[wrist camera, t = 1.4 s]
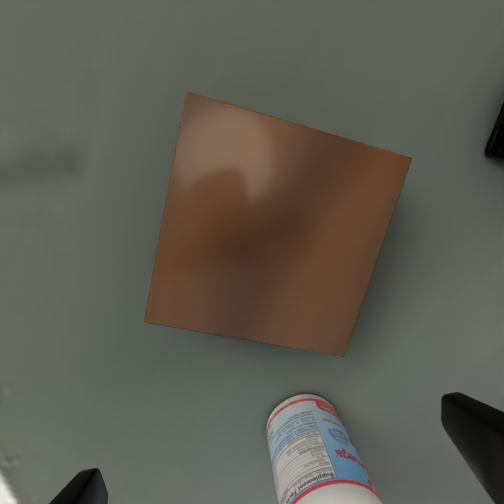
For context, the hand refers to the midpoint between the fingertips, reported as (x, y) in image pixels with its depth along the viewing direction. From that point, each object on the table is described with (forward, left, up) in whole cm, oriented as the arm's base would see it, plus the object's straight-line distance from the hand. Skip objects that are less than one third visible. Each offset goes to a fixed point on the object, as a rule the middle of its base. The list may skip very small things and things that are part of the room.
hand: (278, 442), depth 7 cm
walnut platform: (-1, -4, -14) cm, 14 cm away
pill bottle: (-8, +11, -14) cm, 20 cm away
